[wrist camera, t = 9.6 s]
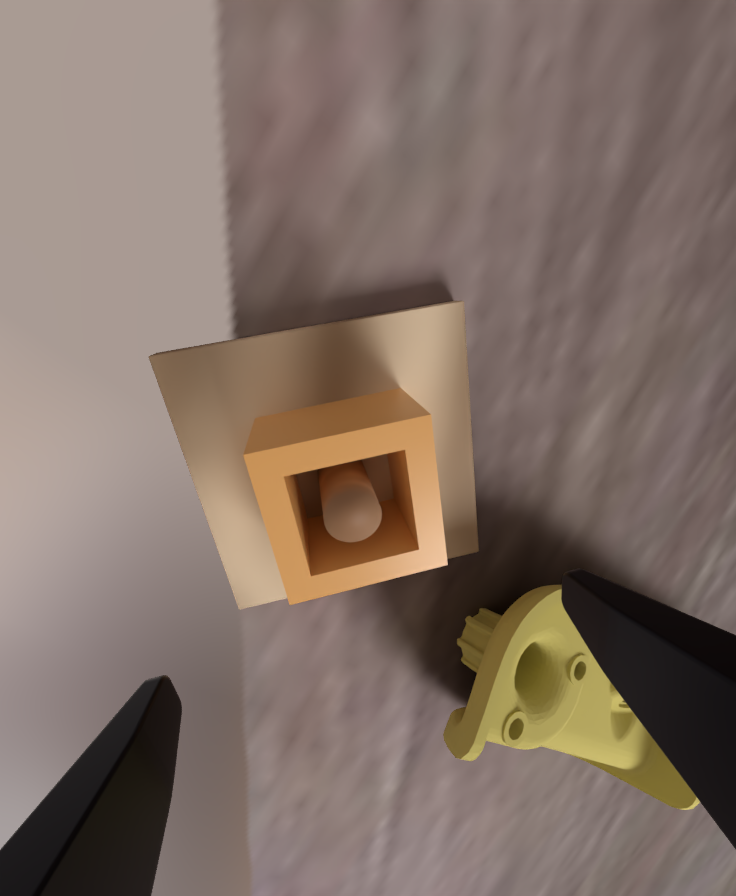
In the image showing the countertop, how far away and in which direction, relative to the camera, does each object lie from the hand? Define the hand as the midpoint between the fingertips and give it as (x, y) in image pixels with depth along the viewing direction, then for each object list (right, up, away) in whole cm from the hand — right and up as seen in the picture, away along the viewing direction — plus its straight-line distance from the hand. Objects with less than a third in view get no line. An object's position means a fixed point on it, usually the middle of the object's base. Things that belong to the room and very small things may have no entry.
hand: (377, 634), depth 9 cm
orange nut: (-1, +3, +8) cm, 9 cm away
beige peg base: (-2, +4, +9) cm, 10 cm away
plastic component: (+11, -8, +17) cm, 22 cm away
